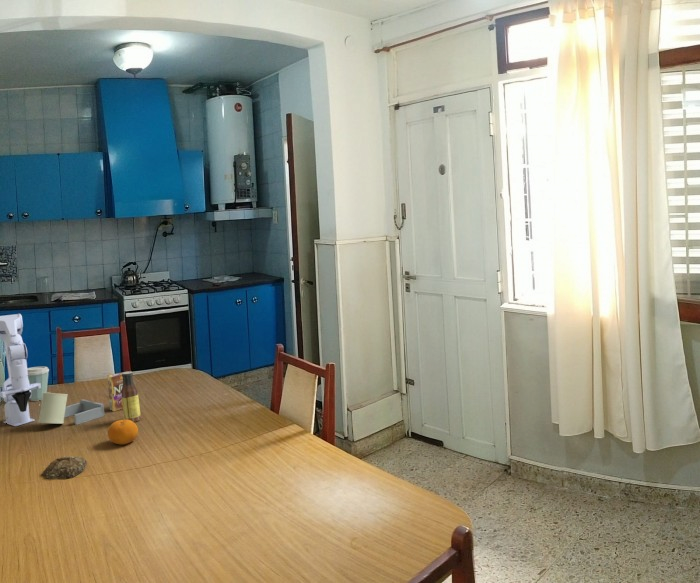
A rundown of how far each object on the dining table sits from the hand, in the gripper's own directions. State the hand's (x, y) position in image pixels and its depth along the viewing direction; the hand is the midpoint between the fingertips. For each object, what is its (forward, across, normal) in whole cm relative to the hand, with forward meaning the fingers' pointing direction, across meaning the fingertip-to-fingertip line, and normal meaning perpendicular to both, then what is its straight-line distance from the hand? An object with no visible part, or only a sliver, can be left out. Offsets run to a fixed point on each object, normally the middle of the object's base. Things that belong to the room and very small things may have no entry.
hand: (23, 411), depth 237 cm
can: (+8, +10, 0) cm, 13 cm away
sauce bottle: (+10, +31, -23) cm, 40 cm away
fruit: (+10, +14, -41) cm, 44 cm away
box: (+9, +23, 0) cm, 25 cm away
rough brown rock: (+10, -12, -46) cm, 49 cm away
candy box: (+10, +39, -5) cm, 40 cm away
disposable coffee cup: (+10, +29, +42) cm, 52 cm away
